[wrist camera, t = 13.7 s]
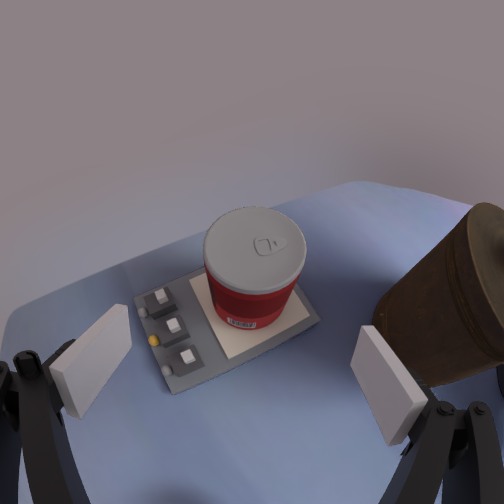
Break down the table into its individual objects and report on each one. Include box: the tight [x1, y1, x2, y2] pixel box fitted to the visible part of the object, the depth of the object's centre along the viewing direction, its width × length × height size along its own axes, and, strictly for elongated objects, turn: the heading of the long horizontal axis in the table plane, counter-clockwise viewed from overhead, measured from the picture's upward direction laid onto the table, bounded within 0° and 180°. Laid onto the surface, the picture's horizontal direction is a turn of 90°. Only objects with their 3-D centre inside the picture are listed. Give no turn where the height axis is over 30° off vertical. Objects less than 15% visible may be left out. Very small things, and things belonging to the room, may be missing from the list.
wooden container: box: [372, 203, 504, 388], centre depth 21 cm, size 15×15×22 cm
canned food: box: [203, 207, 307, 330], centre depth 25 cm, size 8×8×11 cm
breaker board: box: [133, 267, 321, 395], centre depth 29 cm, size 18×12×4 cm, turn 119°
